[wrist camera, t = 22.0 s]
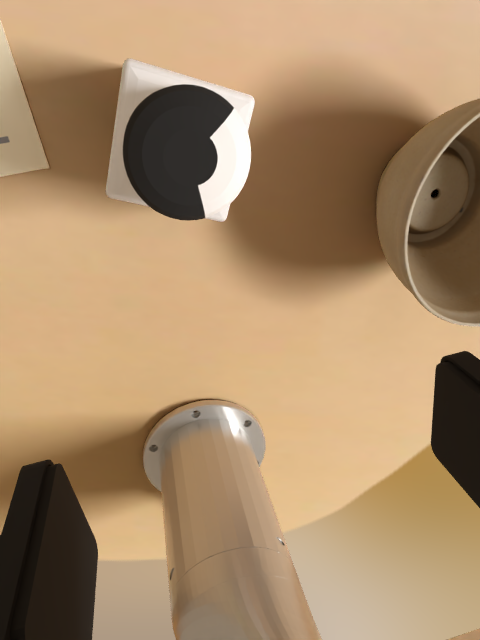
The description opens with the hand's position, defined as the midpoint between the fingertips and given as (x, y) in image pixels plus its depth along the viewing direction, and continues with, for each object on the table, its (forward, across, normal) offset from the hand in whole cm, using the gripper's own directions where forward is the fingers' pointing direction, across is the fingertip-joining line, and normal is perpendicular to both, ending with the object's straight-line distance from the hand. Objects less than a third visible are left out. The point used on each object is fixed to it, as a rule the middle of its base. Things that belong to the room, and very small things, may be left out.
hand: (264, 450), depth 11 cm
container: (+28, -1, -5) cm, 29 cm away
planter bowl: (+28, -22, +3) cm, 36 cm away
